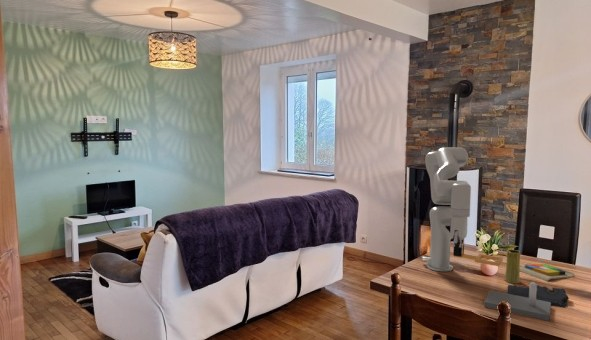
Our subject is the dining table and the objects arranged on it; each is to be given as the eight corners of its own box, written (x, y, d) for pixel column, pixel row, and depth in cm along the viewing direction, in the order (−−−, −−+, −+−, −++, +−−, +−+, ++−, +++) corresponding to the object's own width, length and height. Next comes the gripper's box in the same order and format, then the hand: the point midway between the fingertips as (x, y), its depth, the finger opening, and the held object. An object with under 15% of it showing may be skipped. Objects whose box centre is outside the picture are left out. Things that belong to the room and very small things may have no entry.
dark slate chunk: (505, 287, 184) (506, 277, 183) (562, 295, 175) (563, 284, 175) (508, 301, 170) (509, 290, 169) (571, 310, 161) (572, 298, 161)
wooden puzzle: (575, 277, 197) (575, 270, 196) (547, 282, 190) (548, 275, 189) (541, 266, 213) (541, 259, 212) (515, 270, 206) (515, 264, 206)
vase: (521, 284, 187) (523, 253, 186) (506, 283, 188) (508, 252, 187) (517, 279, 193) (518, 249, 191) (503, 278, 194) (504, 248, 193)
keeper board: (484, 306, 163) (485, 279, 162) (489, 294, 175) (491, 269, 174) (548, 320, 151) (550, 291, 150) (550, 307, 163) (552, 279, 162)
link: (451, 258, 171) (452, 244, 171) (457, 253, 178) (457, 239, 178) (498, 266, 161) (499, 251, 160) (502, 260, 168) (503, 246, 167)
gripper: (456, 208, 181) (454, 249, 182) (445, 214, 168) (443, 258, 169) (474, 210, 176) (472, 252, 178) (464, 216, 163) (463, 261, 165)
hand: (458, 254), depth 174 cm, fingers closed on link, 3 cm apart
